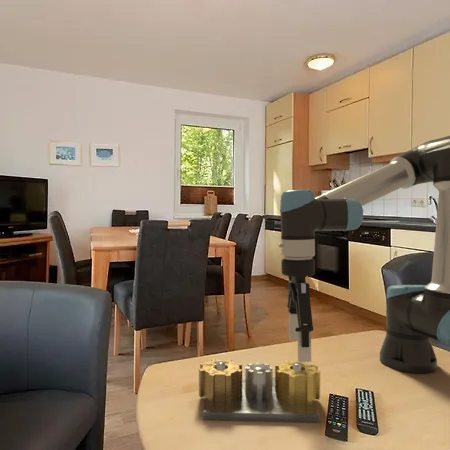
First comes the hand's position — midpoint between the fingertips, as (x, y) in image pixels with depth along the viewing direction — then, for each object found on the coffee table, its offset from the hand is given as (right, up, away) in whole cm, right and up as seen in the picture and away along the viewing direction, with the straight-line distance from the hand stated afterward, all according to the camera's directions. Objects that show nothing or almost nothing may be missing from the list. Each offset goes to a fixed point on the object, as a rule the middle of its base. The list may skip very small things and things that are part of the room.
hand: (299, 349), depth 86 cm
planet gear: (0, -10, 0) cm, 10 cm away
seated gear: (-18, -10, +1) cm, 21 cm away
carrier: (-9, -12, 0) cm, 15 cm away
